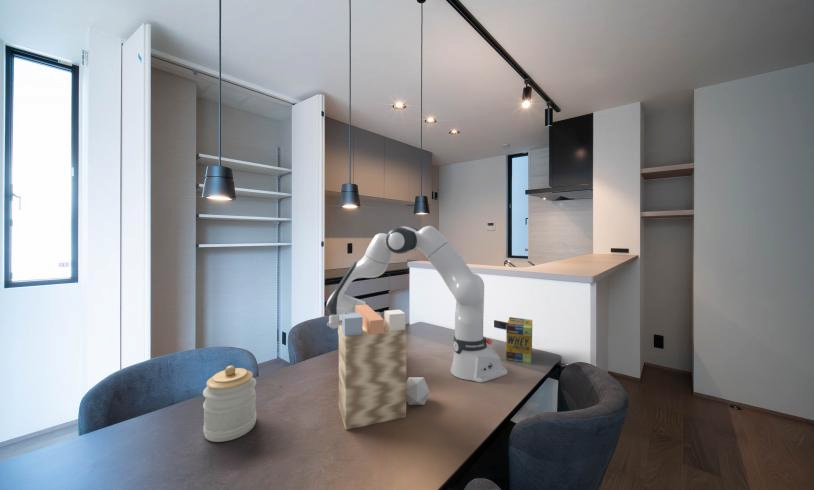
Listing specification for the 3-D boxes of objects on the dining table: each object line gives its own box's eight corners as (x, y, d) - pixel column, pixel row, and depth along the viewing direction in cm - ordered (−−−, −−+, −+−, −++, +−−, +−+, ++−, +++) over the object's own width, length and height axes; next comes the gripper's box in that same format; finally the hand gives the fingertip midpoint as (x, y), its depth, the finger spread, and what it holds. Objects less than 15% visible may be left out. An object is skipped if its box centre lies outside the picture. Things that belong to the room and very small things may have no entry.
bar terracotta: (366, 315, 110) (366, 304, 110) (383, 333, 91) (383, 319, 91) (355, 316, 109) (355, 305, 109) (370, 334, 89) (370, 320, 89)
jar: (219, 450, 79) (218, 380, 79) (194, 432, 86) (193, 369, 86) (266, 423, 90) (265, 363, 90) (240, 410, 97) (239, 353, 97)
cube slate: (358, 329, 94) (358, 313, 94) (362, 334, 90) (362, 317, 89) (342, 331, 92) (341, 314, 92) (344, 336, 88) (344, 318, 88)
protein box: (505, 360, 137) (506, 325, 137) (508, 348, 151) (509, 316, 151) (531, 364, 133) (532, 328, 133) (532, 351, 147) (532, 319, 147)
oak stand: (392, 396, 106) (393, 320, 105) (406, 416, 94) (406, 330, 93) (338, 406, 99) (338, 325, 98) (345, 429, 88) (345, 337, 87)
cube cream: (399, 325, 99) (399, 309, 99) (405, 329, 94) (405, 313, 94) (384, 326, 97) (384, 310, 97) (389, 331, 92) (389, 314, 92)
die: (420, 415, 96) (436, 385, 99) (397, 398, 98) (413, 370, 100) (419, 410, 104) (434, 383, 107) (397, 395, 105) (412, 369, 108)
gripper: (325, 318, 127) (329, 307, 115) (375, 314, 134) (383, 304, 122) (326, 333, 124) (330, 324, 112) (376, 329, 131) (385, 320, 120)
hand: (358, 314), depth 117 cm, fingers open, 8 cm apart
